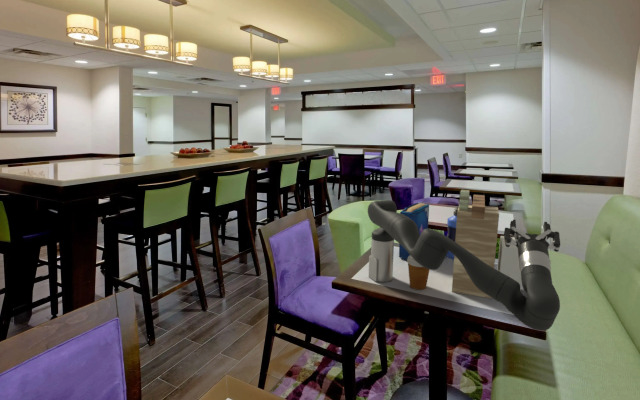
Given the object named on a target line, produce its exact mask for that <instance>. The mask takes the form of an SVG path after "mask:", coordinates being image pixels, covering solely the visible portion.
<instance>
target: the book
mask: <svg viewBox="0 0 640 400" xmlns="http://www.w3.org/2000/svg"><path fill="white" fill-rule="evenodd" d="M399 213H400V214H403V215H405V216H407V217H409V218H410V219H411V220H413V221H414V222H415V223H416V225H417V227H418V231H419V236H420V235H421V233H422V232H423V230H424V229H429V218H430V214H429V213H430V204H429V203H427V204H425V203H424V202H422V203H419V202H415V203H412V204H411V205H408V206H407V207H404V209H403V210H401V211H400V212H399ZM398 244H399V243H398ZM398 246H399V249H398V250H399V251H398V258H400V259H402V260H405V261H407V259H408V257H409V256H410V254H409V253H408V252H407V251H406V249H405V248H404V247H403V246H402V245H401V244H399V245H398Z"/></svg>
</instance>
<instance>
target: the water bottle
mask: <svg viewBox="0 0 640 400" xmlns="http://www.w3.org/2000/svg"><path fill="white" fill-rule="evenodd" d="M458 208H459V206H456V207H454V209H453V210H454V211H453V215H452V216H449V217H447V224H446V225H447V234H446V236H447V237H448V238H450V239H451V240H453V241H454V242H455V239H456V224H457V211H458ZM447 257H448V258H447ZM445 258H447V259H450V258H451V259H450V260H454V254H453V253H451V252H450V251H448V253H447V255H446V257H445Z"/></svg>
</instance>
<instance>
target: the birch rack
mask: <svg viewBox="0 0 640 400" xmlns="http://www.w3.org/2000/svg"><path fill="white" fill-rule="evenodd" d="M458 207H459V208H458V211H457V224H456V239H455V242H456V243H457V244H459V245H460V246H462V247H463V248H465V249H466V250H467V251H469V252H470V253H472V254H473V255H474V256H476V257H477V258H479V259H480V260H481V261H483V262H484V263H486V264H487V265H489V266H491V267H492V268H494V269H495V266H496V265H495V264H496V263H495V262H496V252H497V243H498V241H497V240H498V233H499V232H498V231H499V218H500V213H499V212H500V211H499V207H498V206H489V205H488V206H487V205H485V213H484V219H477V218H471V215H472V205H471V204H470V190H467V189H461V190H460V191H459V204H458ZM452 270H453V271H452V283H451V292H452V293H456V292H457V293H458V294H463V295H468V296H476V297H480V298H488V299H493V298H492V297H490V296H489V295H487V294H485V293H484V292H482V291H481V290H479V289H478V288H477V287H476V286H475V285H474V283H473V282H472V280H471V279H470V277H469V275H468V274H467V272H466V270H465V268H464V267H463V265H462V264H461V262H460V261H459V259H458V258H457V257H456V256H455V255H454V259H453V269H452Z"/></svg>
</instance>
